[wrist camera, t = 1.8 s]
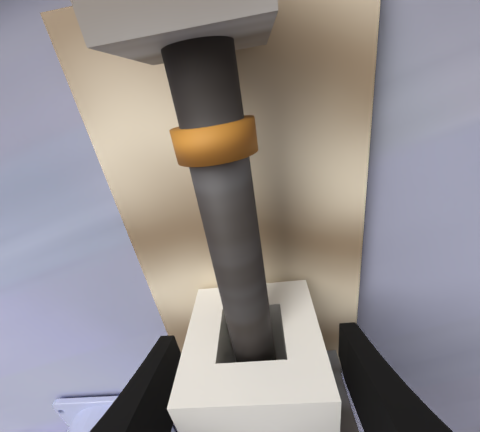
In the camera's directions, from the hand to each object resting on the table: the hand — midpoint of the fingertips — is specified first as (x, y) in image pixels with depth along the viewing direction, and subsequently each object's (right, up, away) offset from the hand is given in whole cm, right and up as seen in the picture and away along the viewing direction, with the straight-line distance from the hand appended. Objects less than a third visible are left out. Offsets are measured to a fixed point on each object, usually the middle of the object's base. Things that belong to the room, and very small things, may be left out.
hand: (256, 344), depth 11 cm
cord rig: (0, +5, +1) cm, 5 cm away
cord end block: (0, +1, +1) cm, 2 cm away
